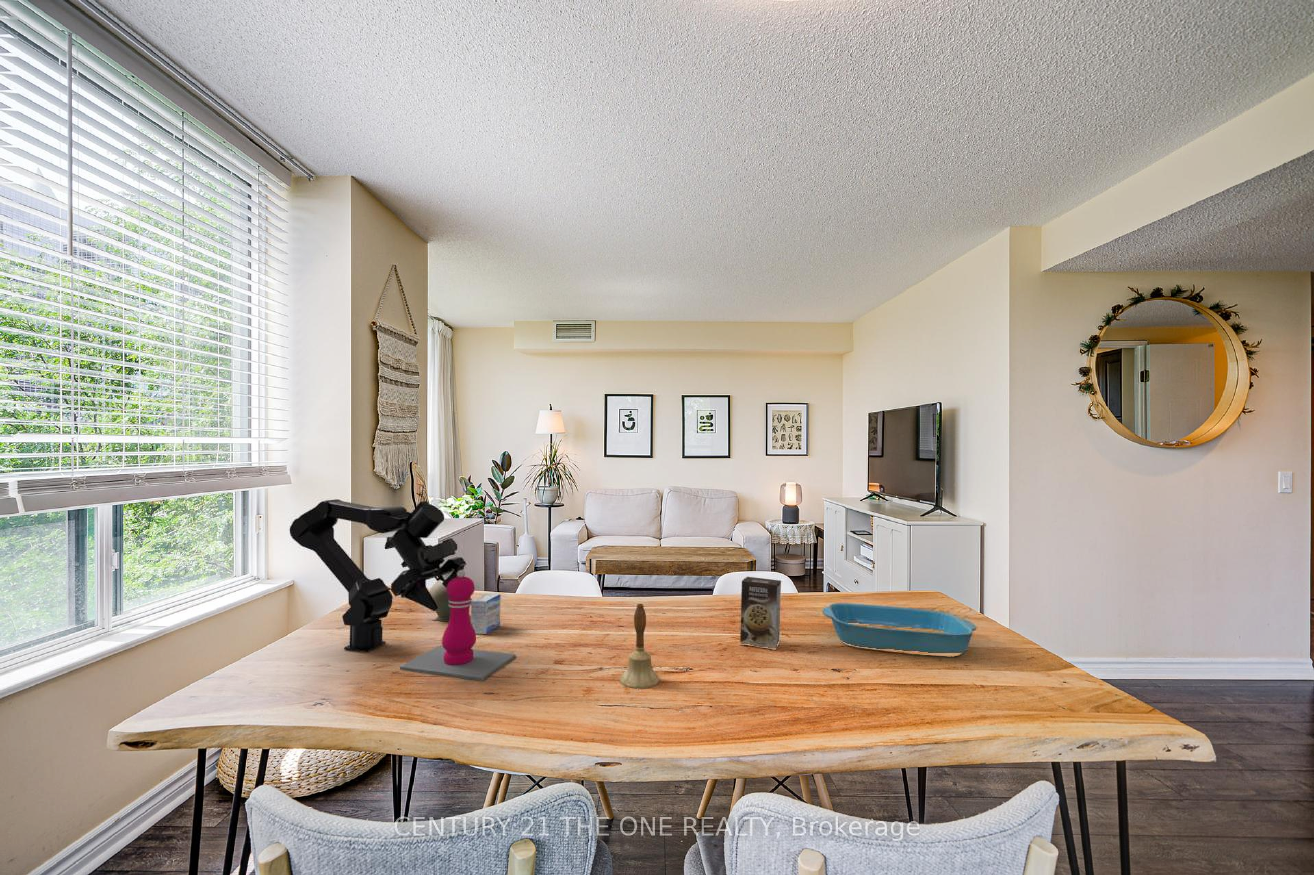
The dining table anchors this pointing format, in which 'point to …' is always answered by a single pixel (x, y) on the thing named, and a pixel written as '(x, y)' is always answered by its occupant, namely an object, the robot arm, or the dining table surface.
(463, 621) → the magenta pepper mill
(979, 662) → the dining table surface
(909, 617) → the casserole dish
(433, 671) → the place mat
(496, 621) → the medicine box
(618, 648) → the dining table surface
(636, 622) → the hand bell
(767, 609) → the coffee box
